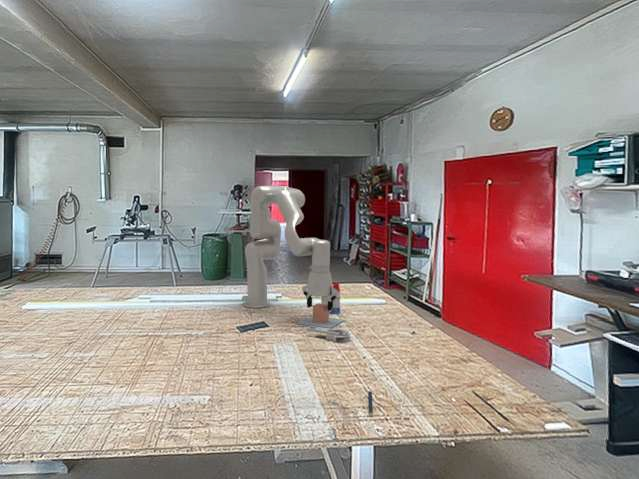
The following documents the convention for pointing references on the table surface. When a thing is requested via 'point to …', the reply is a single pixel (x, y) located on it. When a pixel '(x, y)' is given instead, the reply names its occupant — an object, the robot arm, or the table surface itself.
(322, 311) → the salmon pink block
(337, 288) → the ink box
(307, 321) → the post fixture
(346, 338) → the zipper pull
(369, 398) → the pencil
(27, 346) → the table surface
